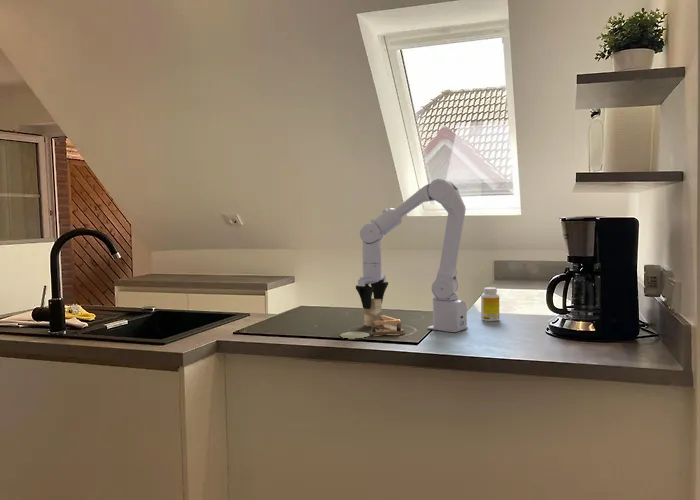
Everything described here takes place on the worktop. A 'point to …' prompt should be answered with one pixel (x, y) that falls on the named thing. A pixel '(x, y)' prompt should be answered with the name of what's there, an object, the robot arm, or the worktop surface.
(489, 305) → the supplement bottle
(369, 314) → the birch handle block
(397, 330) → the copper rod course
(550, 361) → the worktop surface
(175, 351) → the worktop surface
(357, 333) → the pad
